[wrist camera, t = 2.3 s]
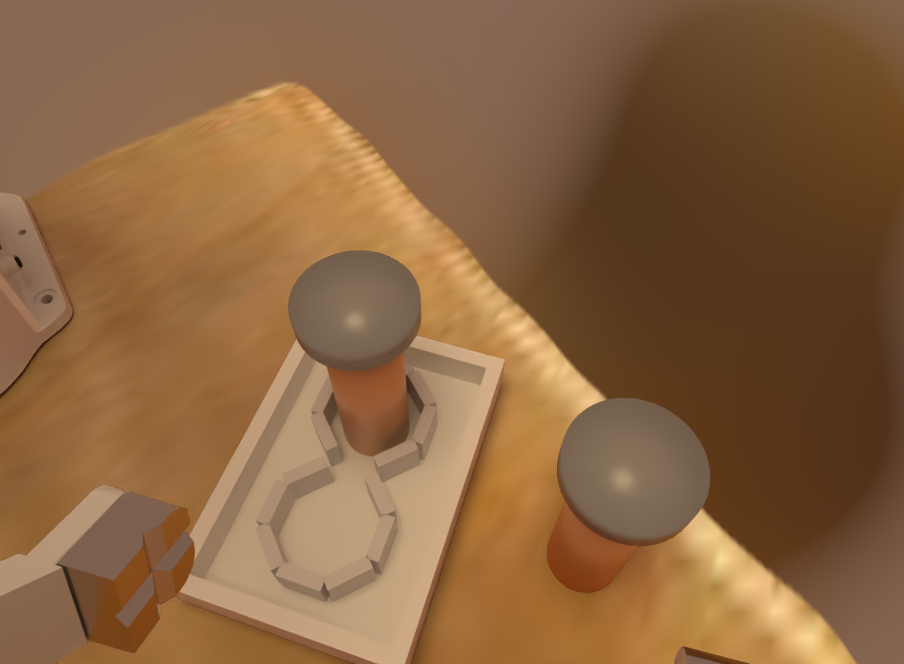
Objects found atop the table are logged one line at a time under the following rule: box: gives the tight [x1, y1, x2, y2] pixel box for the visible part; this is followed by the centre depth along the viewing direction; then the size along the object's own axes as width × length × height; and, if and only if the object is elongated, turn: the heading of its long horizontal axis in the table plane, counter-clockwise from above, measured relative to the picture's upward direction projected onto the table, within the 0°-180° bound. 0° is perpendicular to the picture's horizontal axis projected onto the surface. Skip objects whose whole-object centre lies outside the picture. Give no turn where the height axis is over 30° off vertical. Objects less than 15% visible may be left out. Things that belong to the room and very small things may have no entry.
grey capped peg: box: [288, 251, 421, 457], centre depth 40 cm, size 7×7×14 cm
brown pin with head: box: [547, 398, 710, 593], centre depth 36 cm, size 7×7×14 cm
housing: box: [176, 336, 505, 664], centre depth 43 cm, size 20×14×4 cm
